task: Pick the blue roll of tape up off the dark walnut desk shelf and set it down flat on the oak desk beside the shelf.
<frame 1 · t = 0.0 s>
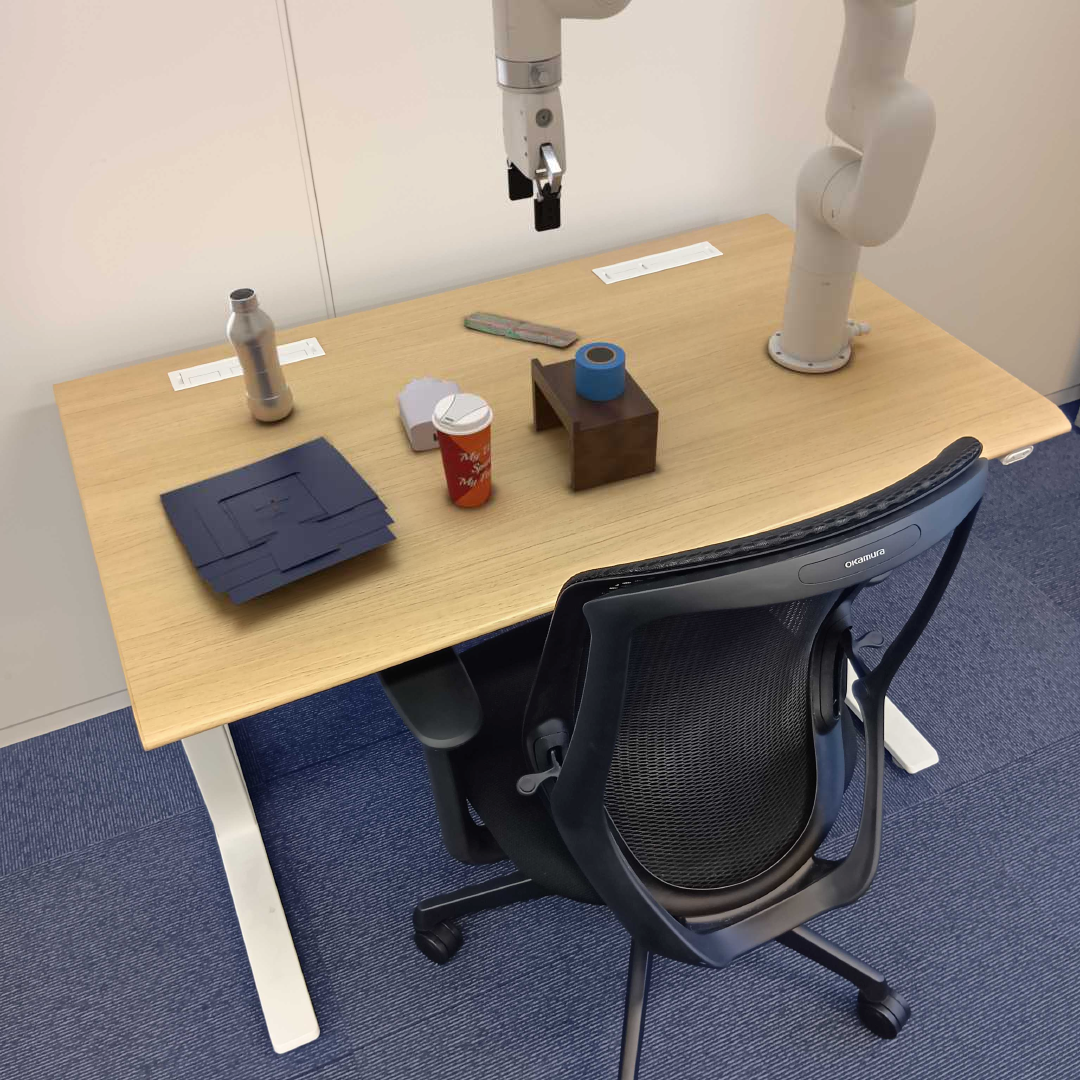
hand: (534, 213, 124), 31 cm above the table, tool pointing down, fingers open, 9 cm apart
paper cup: (470, 494, 132), on the table
desk shelf: (592, 448, 139), on the table
silver metal bottle: (274, 415, 147), on the table
map: (520, 332, 163), on the table
navy flat layered slab: (281, 527, 129), on the table
charger: (433, 418, 146), on the table
tape roll: (599, 387, 132), point 10 cm above the table, touching desk shelf
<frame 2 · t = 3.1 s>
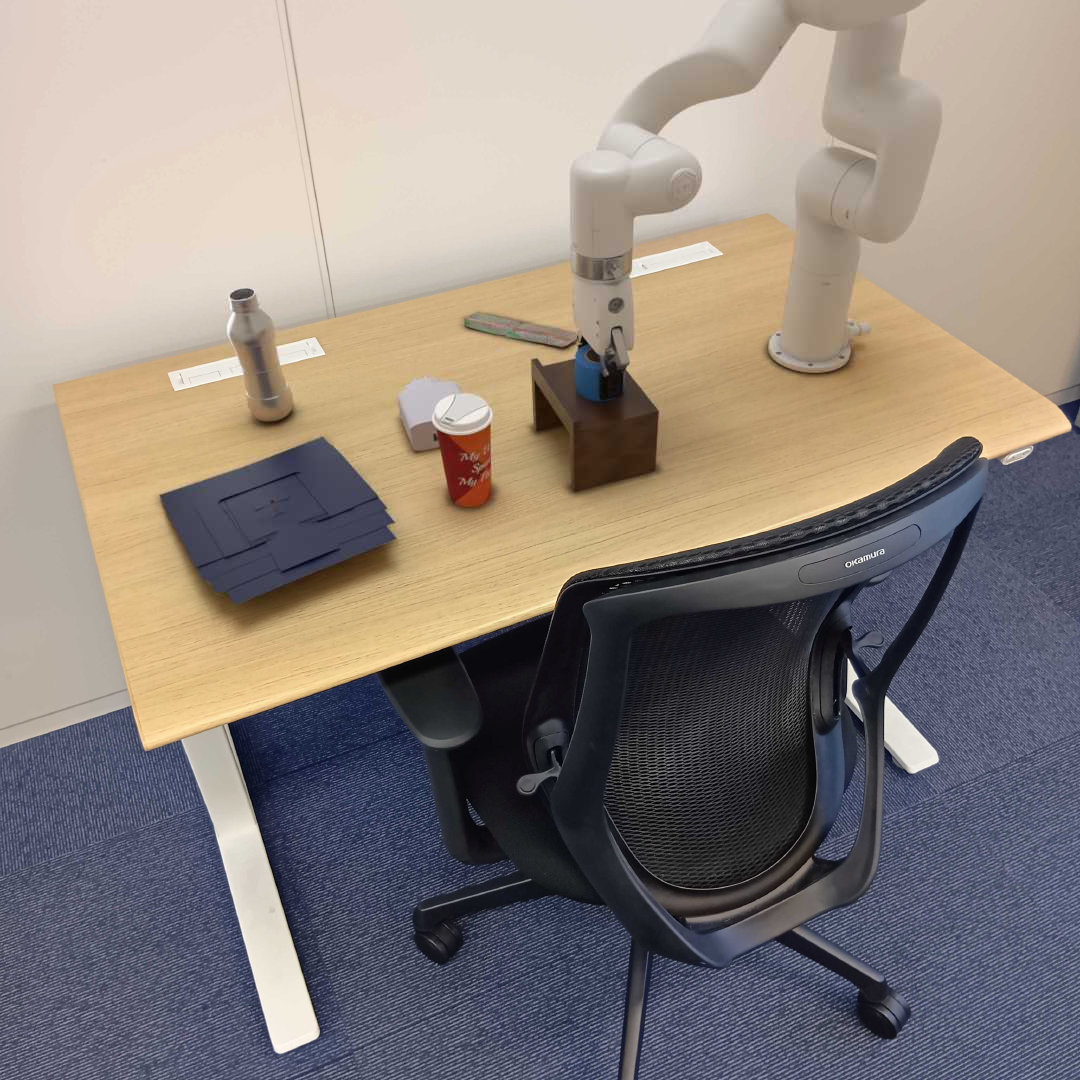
hand: (600, 381, 132), 11 cm above the table, tool pointing down, fingers closed on tape roll, 6 cm apart
tape roll: (599, 387, 132), point 10 cm above the table, touching desk shelf, gripper
everything else where it was.
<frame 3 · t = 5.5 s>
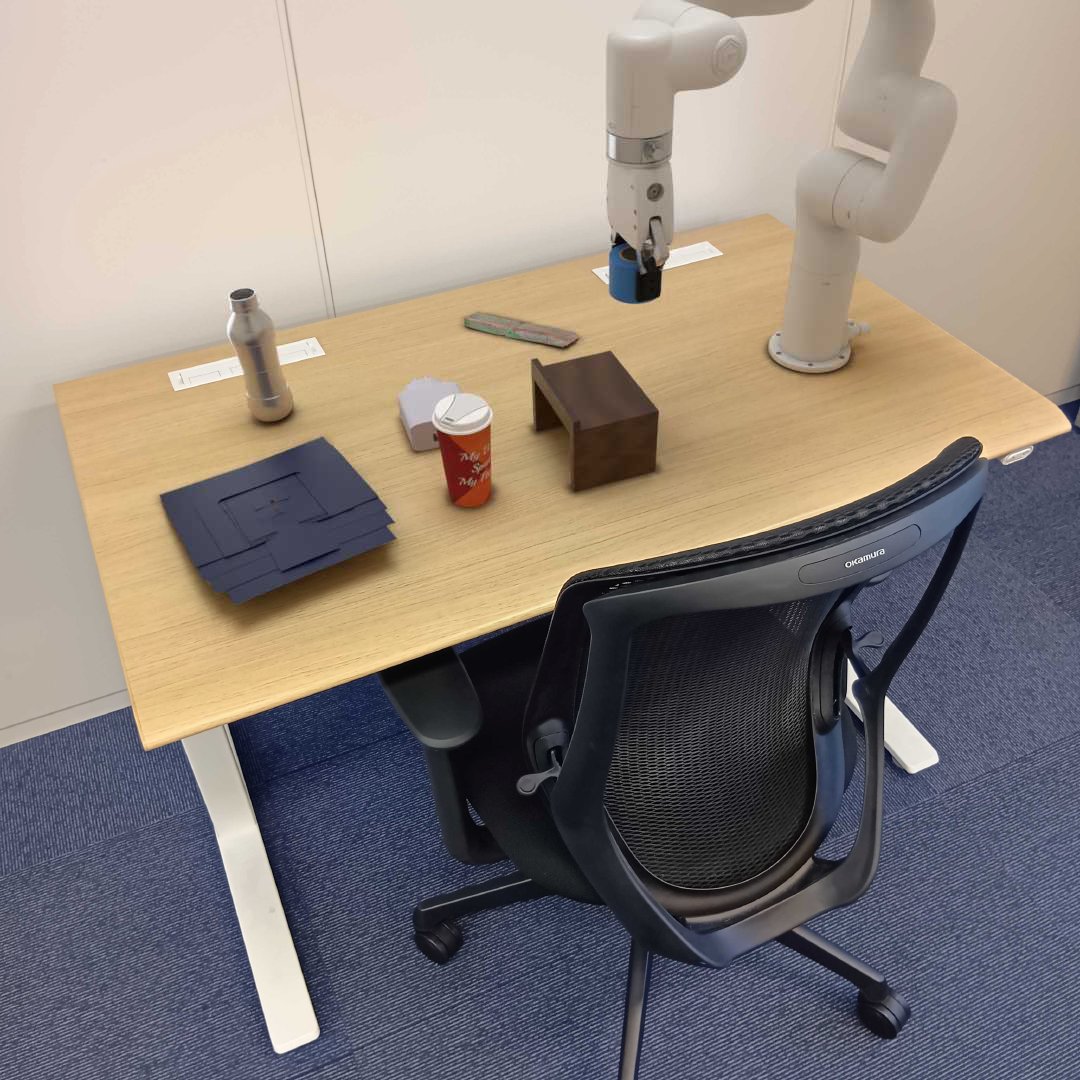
hand: (635, 284, 124), 24 cm above the table, tool pointing down, fingers closed on tape roll, 6 cm apart
tape roll: (635, 290, 124), point 23 cm above the table, touching gripper
everything else where it was.
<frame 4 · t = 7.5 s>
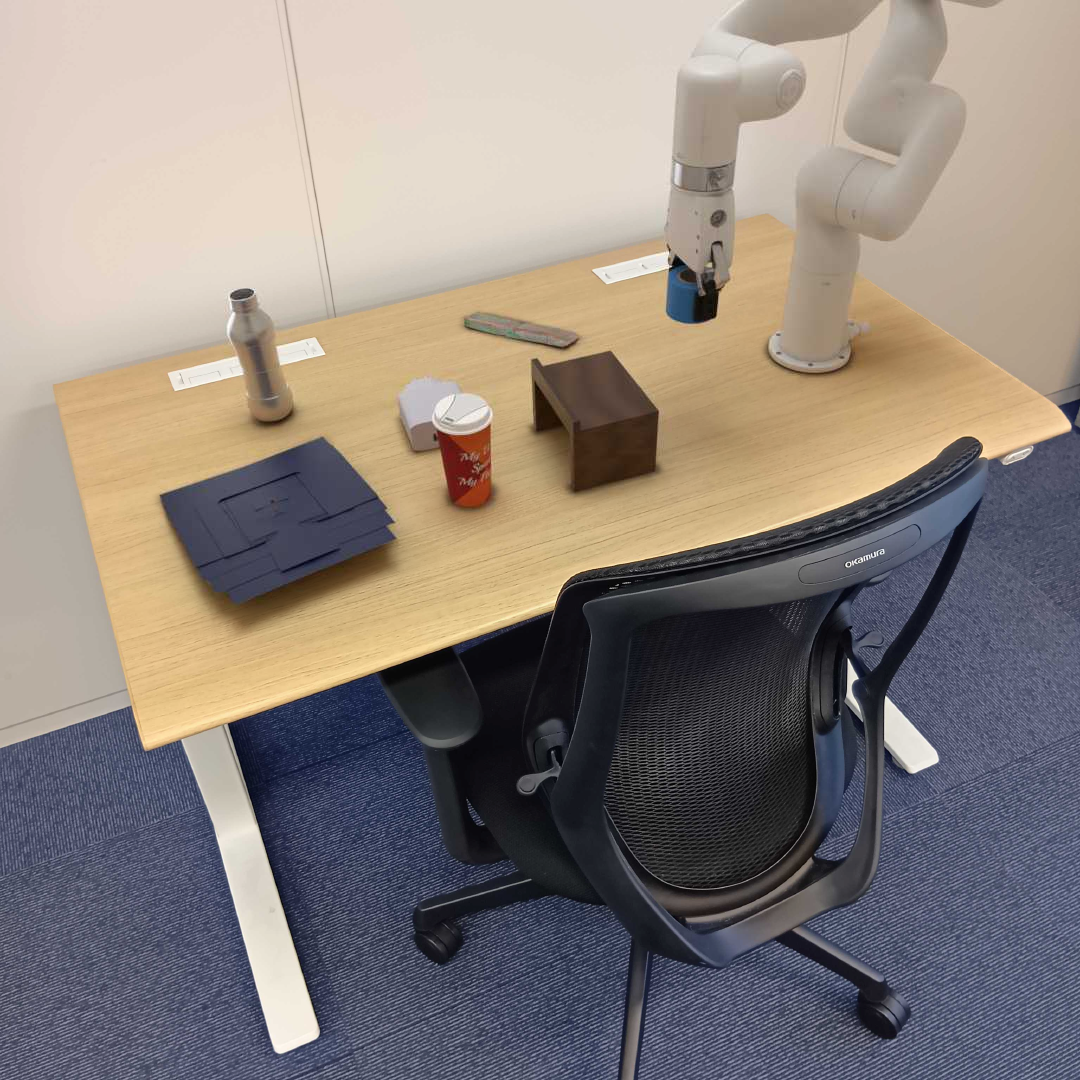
hand: (691, 305, 129), 19 cm above the table, tool pointing down, fingers closed on tape roll, 6 cm apart
tape roll: (690, 311, 129), point 19 cm above the table, touching gripper
everything else where it was.
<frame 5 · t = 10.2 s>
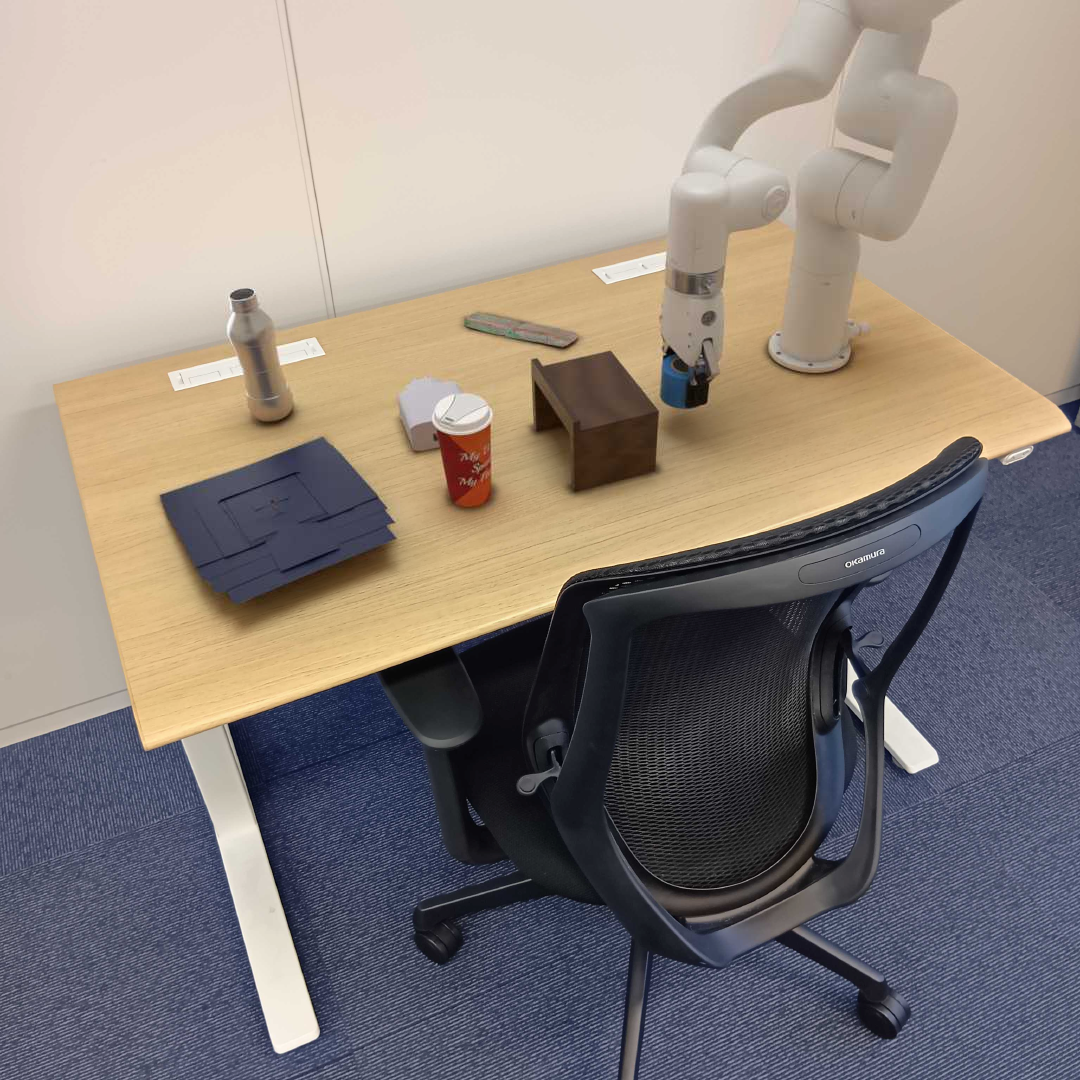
hand: (683, 390, 138), 6 cm above the table, tool pointing down, fingers closed on tape roll, 6 cm apart
tape roll: (683, 395, 138), point 5 cm above the table, touching gripper
everything else where it was.
when the fingers open (1 cm above the table, at t = 12.1 s): tape roll stays where it is, on the table.
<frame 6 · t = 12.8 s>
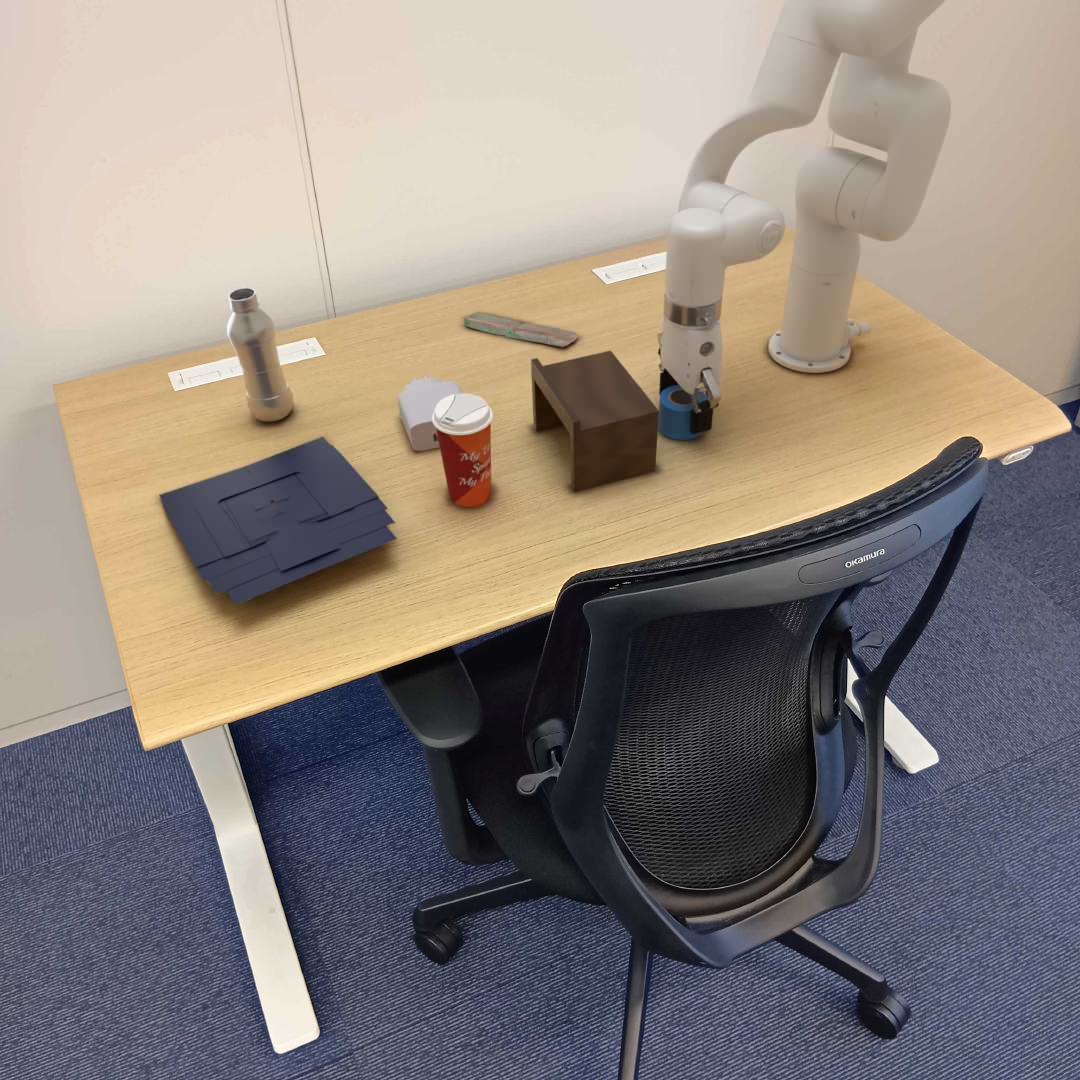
hand: (684, 412, 141), 2 cm above the table, tool pointing down, fingers open, 9 cm apart
tape roll: (680, 426, 142), on the table
everything else where it was.
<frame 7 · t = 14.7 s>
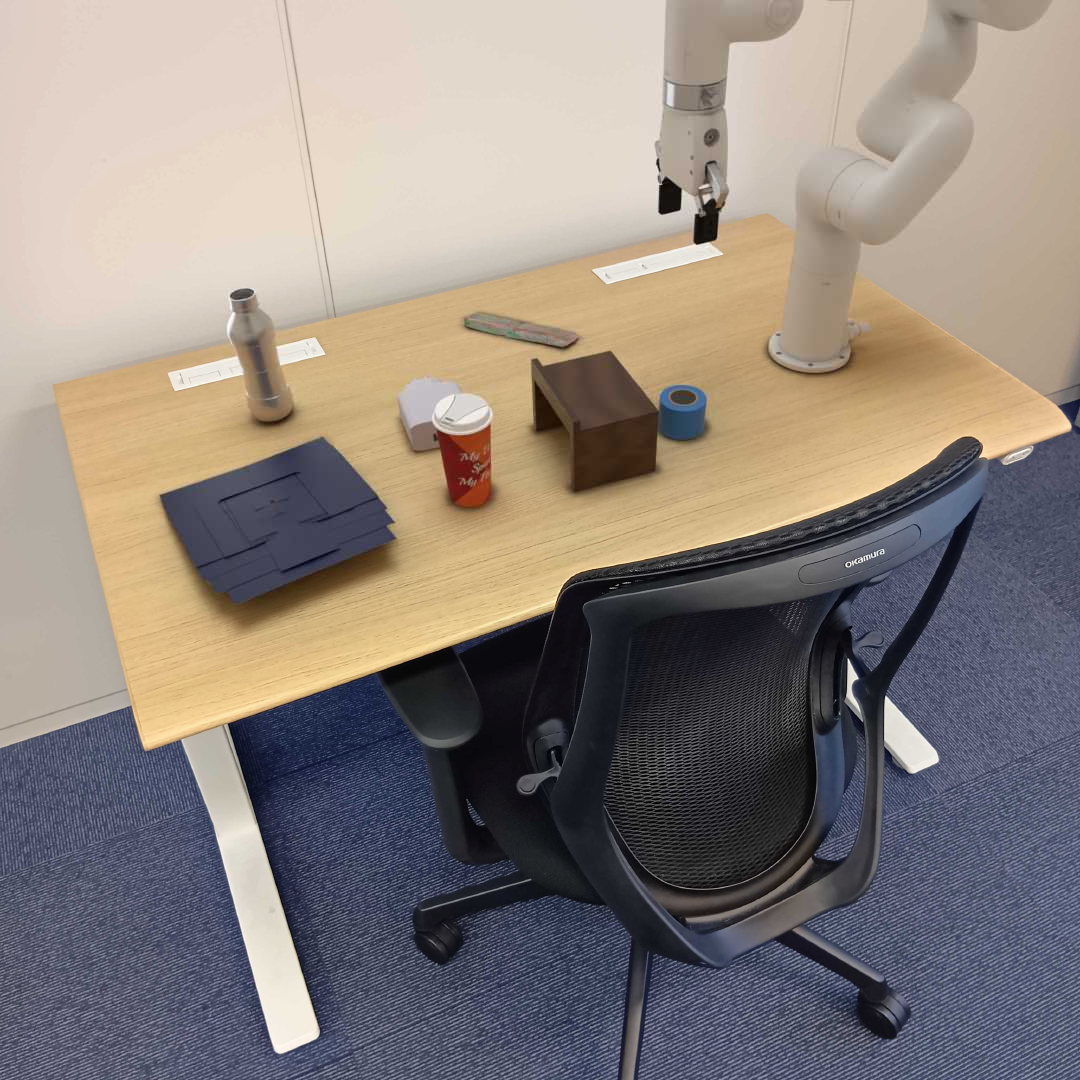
hand: (686, 226, 129), 27 cm above the table, tool pointing down, fingers open, 9 cm apart
nothing on the table moved.
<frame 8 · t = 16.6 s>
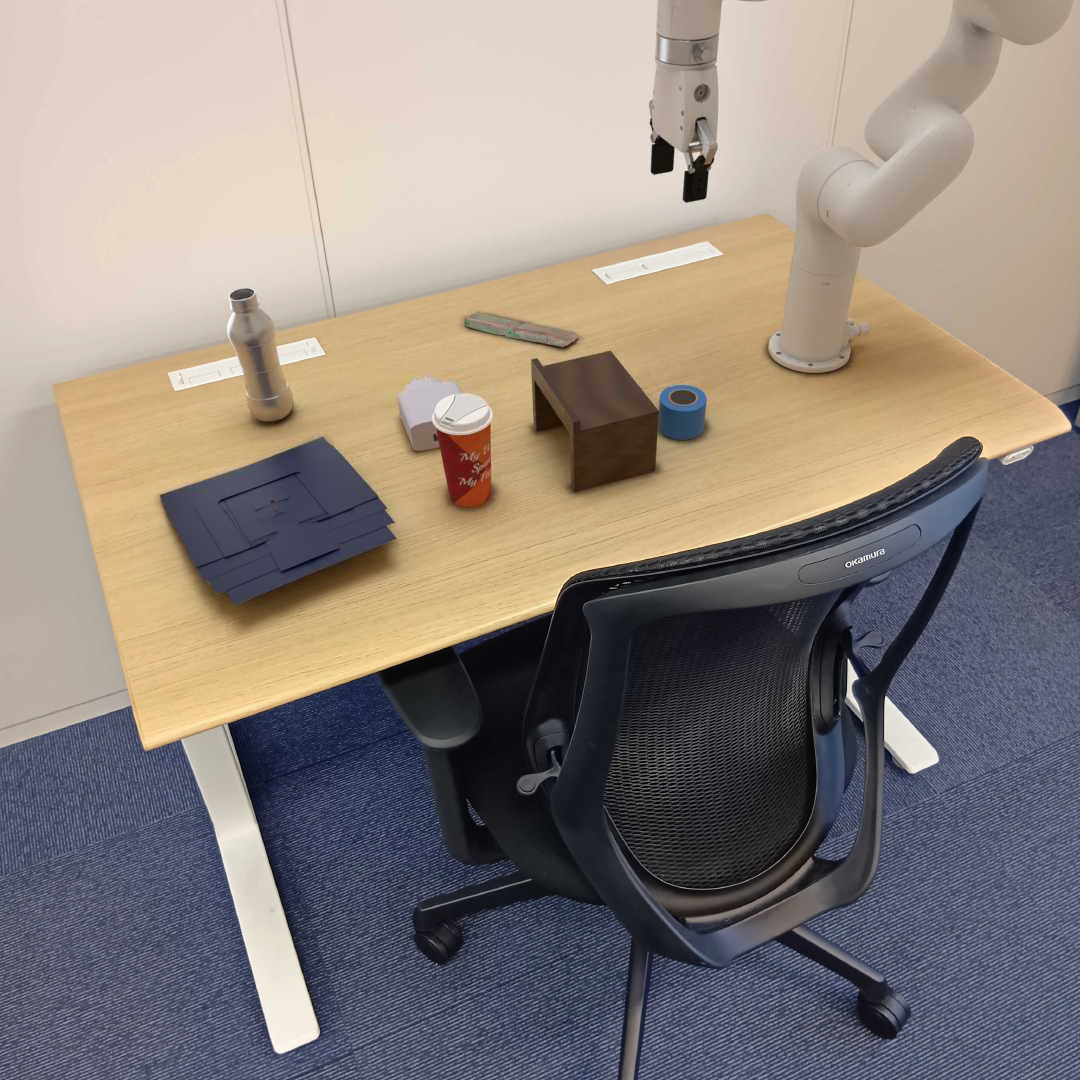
hand: (677, 186, 131), 30 cm above the table, tool pointing down, fingers open, 9 cm apart
nothing on the table moved.
at the end: tape roll inside the target area (0.3 cm from its centre), on the table; tape roll tilted 0°; the gripper is holding nothing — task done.
